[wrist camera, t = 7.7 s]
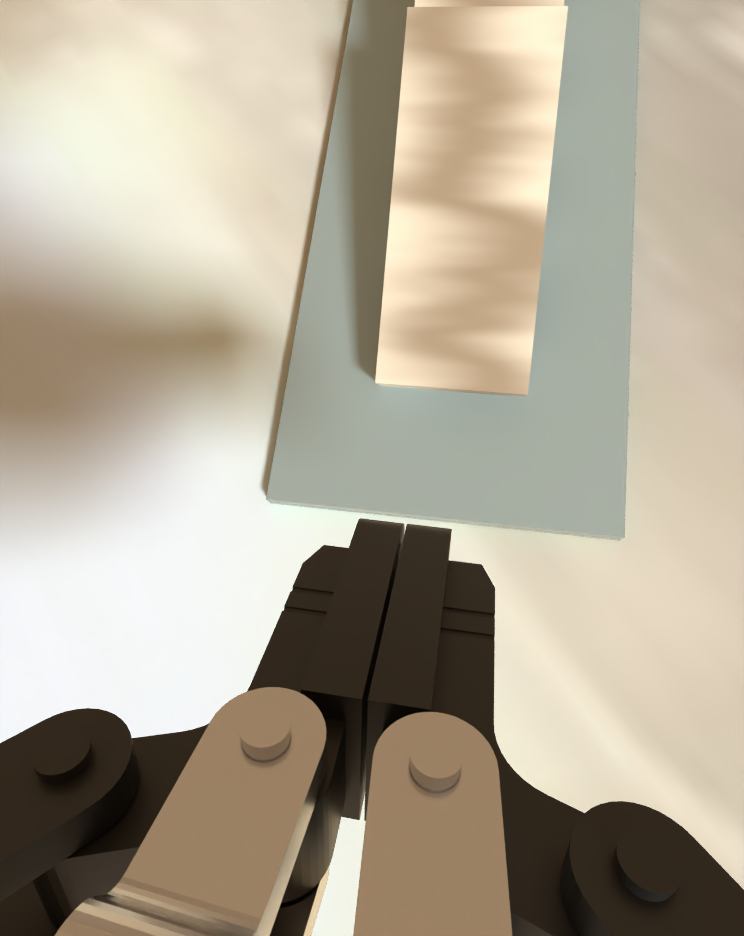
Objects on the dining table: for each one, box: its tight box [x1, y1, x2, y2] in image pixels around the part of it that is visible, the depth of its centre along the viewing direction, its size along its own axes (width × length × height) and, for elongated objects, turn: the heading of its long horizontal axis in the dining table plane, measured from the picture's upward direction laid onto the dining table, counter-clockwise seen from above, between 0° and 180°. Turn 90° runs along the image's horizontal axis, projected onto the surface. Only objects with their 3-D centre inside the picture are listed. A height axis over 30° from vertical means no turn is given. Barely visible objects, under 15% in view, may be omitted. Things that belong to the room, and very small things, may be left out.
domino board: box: [266, 0, 640, 540], centre depth 25 cm, size 12×26×1 cm, turn 173°
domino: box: [375, 6, 568, 397], centre depth 21 cm, size 5×2×12 cm
